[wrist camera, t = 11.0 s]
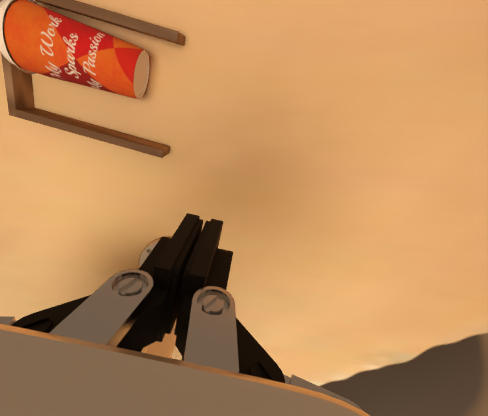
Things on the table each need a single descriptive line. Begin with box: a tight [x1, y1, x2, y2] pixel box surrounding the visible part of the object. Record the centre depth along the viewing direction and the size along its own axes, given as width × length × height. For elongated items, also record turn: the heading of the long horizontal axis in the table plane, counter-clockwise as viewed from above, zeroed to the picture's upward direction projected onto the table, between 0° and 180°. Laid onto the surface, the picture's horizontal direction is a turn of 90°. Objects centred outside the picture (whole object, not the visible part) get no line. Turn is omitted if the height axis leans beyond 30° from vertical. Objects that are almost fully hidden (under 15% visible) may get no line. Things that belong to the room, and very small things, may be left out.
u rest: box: [0, 0, 185, 158], centre depth 33 cm, size 15×21×3 cm
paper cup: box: [0, 0, 150, 99], centre depth 30 cm, size 8×8×14 cm
